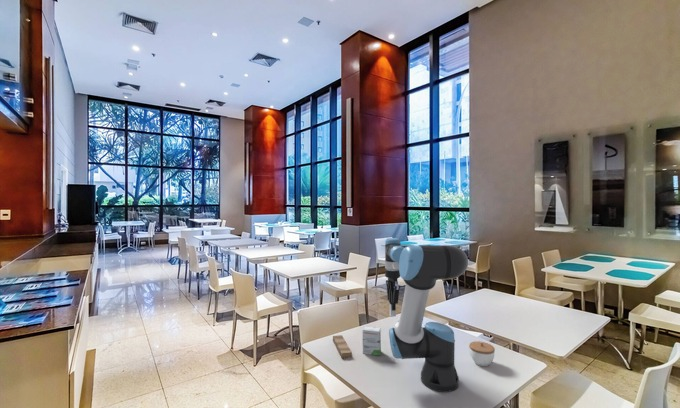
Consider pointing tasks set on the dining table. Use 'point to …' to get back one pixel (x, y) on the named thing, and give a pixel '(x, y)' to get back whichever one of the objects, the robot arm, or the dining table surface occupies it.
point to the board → (342, 347)
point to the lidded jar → (481, 353)
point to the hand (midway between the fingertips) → (392, 316)
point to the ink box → (371, 341)
